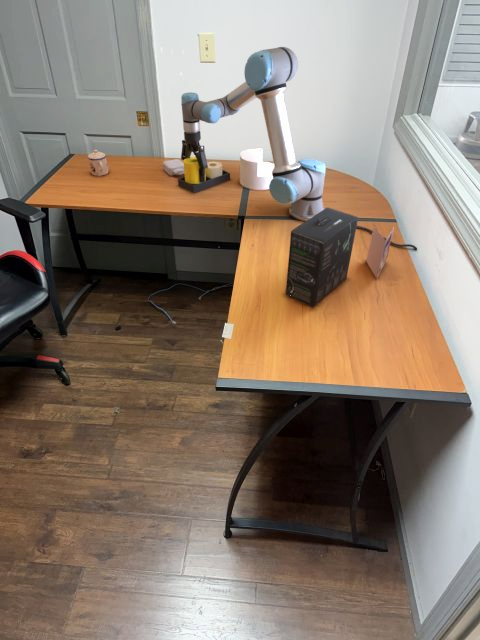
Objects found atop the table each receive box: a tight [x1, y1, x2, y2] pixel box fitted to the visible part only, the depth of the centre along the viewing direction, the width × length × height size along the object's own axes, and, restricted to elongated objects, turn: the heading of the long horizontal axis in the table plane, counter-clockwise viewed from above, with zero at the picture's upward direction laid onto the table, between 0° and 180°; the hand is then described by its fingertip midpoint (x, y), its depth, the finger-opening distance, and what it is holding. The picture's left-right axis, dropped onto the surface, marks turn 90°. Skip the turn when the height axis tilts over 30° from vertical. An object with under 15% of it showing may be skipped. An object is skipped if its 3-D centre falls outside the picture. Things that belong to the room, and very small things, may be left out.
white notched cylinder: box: [239, 147, 274, 191], centre depth 215 cm, size 20×20×13 cm
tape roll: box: [183, 156, 206, 184], centre depth 210 cm, size 10×10×9 cm
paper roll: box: [205, 161, 223, 179], centre depth 218 cm, size 9×9×7 cm
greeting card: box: [365, 224, 395, 279], centre depth 154 cm, size 11×7×15 cm, turn 151°
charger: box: [162, 158, 185, 177], centre depth 225 cm, size 5×9×15 cm
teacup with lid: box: [87, 149, 109, 177], centre depth 223 cm, size 12×9×12 cm
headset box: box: [285, 207, 359, 308], centre depth 142 cm, size 22×12×26 cm, turn 141°
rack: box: [177, 169, 231, 194], centre depth 217 cm, size 12×24×4 cm, turn 133°
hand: (195, 178), depth 212 cm, fingers closed on tape roll, 10 cm apart
